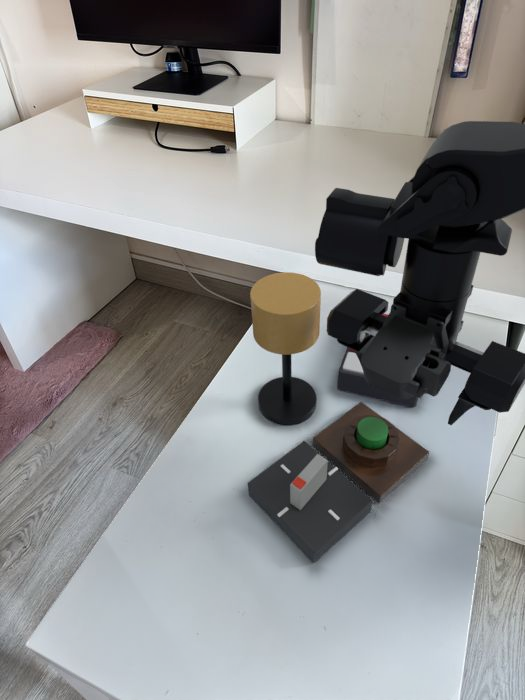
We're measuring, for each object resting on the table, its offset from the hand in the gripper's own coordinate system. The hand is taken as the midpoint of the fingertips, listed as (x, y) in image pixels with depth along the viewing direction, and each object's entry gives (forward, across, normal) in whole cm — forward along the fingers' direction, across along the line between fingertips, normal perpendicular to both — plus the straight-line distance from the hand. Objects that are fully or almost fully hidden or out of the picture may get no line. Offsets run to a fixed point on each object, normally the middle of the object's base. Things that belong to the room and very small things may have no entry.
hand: (410, 402), depth 54 cm
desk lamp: (+11, -17, 0) cm, 20 cm away
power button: (+8, -3, -1) cm, 9 cm away
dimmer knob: (+9, -5, -11) cm, 15 cm away
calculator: (+11, -10, +15) cm, 21 cm away
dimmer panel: (+11, -6, -11) cm, 17 cm away
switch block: (+11, -4, -1) cm, 12 cm away
